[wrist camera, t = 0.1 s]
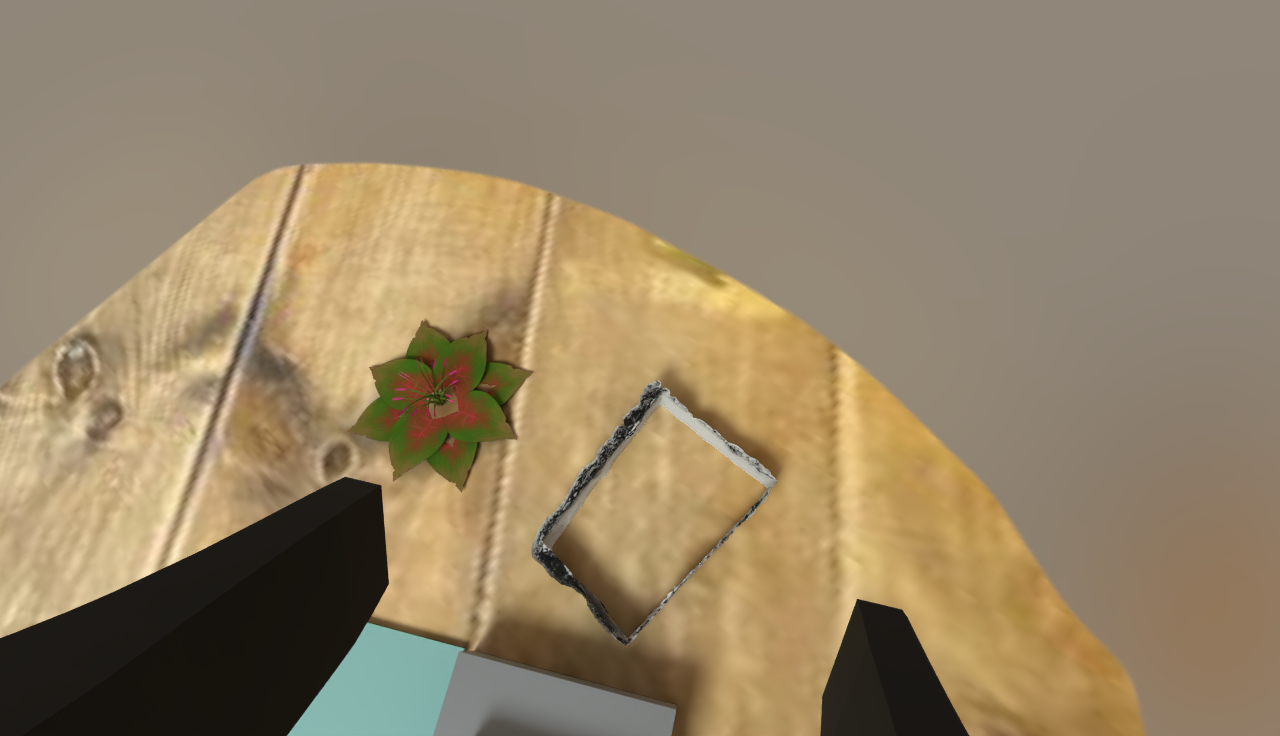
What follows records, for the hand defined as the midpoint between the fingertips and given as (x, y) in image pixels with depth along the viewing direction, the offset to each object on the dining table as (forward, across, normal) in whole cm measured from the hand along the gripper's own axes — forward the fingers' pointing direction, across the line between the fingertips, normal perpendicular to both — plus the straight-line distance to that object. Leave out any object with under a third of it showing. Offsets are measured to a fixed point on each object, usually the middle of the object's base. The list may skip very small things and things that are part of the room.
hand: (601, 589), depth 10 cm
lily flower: (+29, +17, +18) cm, 38 cm away
